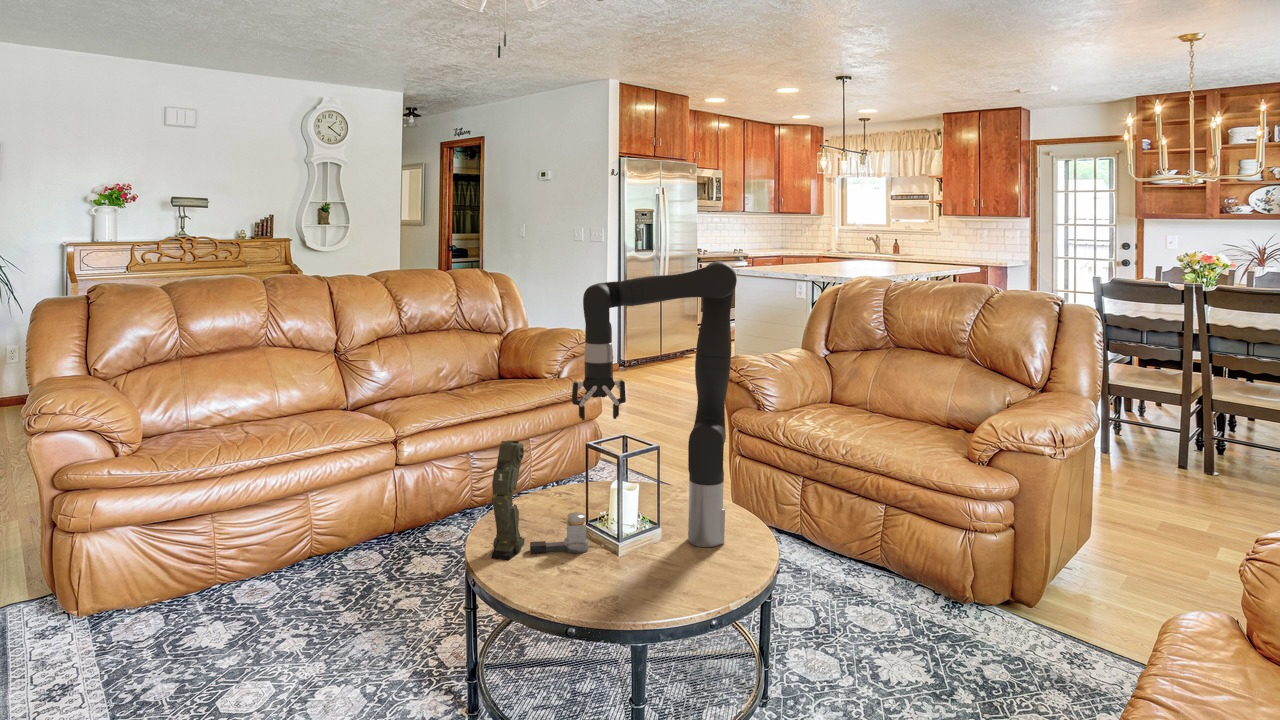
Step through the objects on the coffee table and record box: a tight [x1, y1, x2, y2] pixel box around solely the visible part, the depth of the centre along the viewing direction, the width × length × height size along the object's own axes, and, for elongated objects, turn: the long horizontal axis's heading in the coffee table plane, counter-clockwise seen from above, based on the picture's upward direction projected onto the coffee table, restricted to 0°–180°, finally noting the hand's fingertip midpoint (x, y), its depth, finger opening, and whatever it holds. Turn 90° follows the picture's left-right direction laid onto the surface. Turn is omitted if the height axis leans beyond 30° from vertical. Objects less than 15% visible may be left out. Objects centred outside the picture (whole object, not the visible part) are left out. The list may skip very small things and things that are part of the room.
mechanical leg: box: [490, 440, 525, 561], centre depth 196 cm, size 14×7×30 cm, turn 169°
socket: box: [566, 511, 587, 544], centre depth 198 cm, size 5×5×7 cm
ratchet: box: [529, 536, 589, 555], centre depth 198 cm, size 15×6×6 cm, turn 100°
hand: (598, 419), depth 202 cm, fingers open, 8 cm apart
